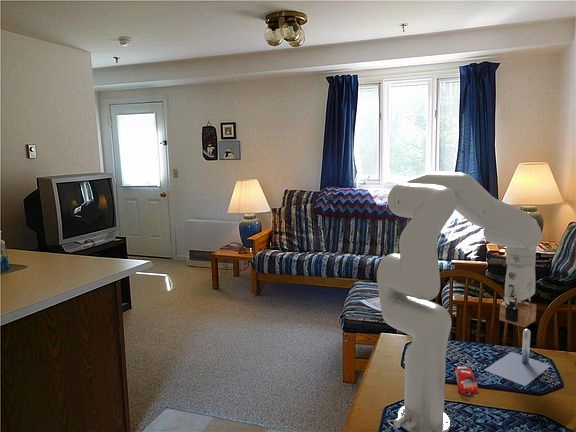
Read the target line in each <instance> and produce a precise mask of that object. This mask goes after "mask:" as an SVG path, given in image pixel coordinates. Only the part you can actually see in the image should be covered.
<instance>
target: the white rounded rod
mask: <svg viewBox="0 0 576 432" xmlns="http://www.w3.org/2000/svg"><path fill="white" fill-rule="evenodd" d="M531 332H532V331H531V330H530V329H528V328H525V329H523V331H522V343H521V345H522V348H521V355H522V360H521V362H522V363H524V364H529V358H530V347H531V346H530V345H531Z"/></svg>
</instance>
